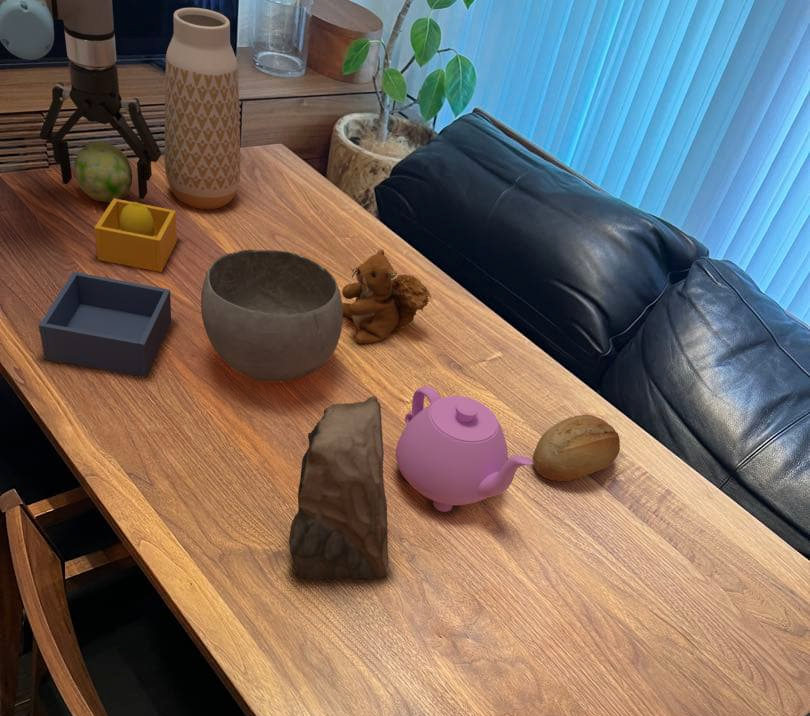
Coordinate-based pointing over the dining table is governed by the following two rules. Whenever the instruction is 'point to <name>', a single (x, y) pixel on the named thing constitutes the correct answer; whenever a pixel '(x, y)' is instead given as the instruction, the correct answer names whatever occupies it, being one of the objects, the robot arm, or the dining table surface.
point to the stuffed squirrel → (382, 299)
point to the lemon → (137, 219)
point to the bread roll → (576, 448)
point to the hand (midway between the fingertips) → (105, 188)
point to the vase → (202, 110)
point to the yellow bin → (136, 238)
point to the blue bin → (106, 324)
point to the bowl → (271, 313)
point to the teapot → (454, 450)
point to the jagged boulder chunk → (342, 497)
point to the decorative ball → (103, 171)
